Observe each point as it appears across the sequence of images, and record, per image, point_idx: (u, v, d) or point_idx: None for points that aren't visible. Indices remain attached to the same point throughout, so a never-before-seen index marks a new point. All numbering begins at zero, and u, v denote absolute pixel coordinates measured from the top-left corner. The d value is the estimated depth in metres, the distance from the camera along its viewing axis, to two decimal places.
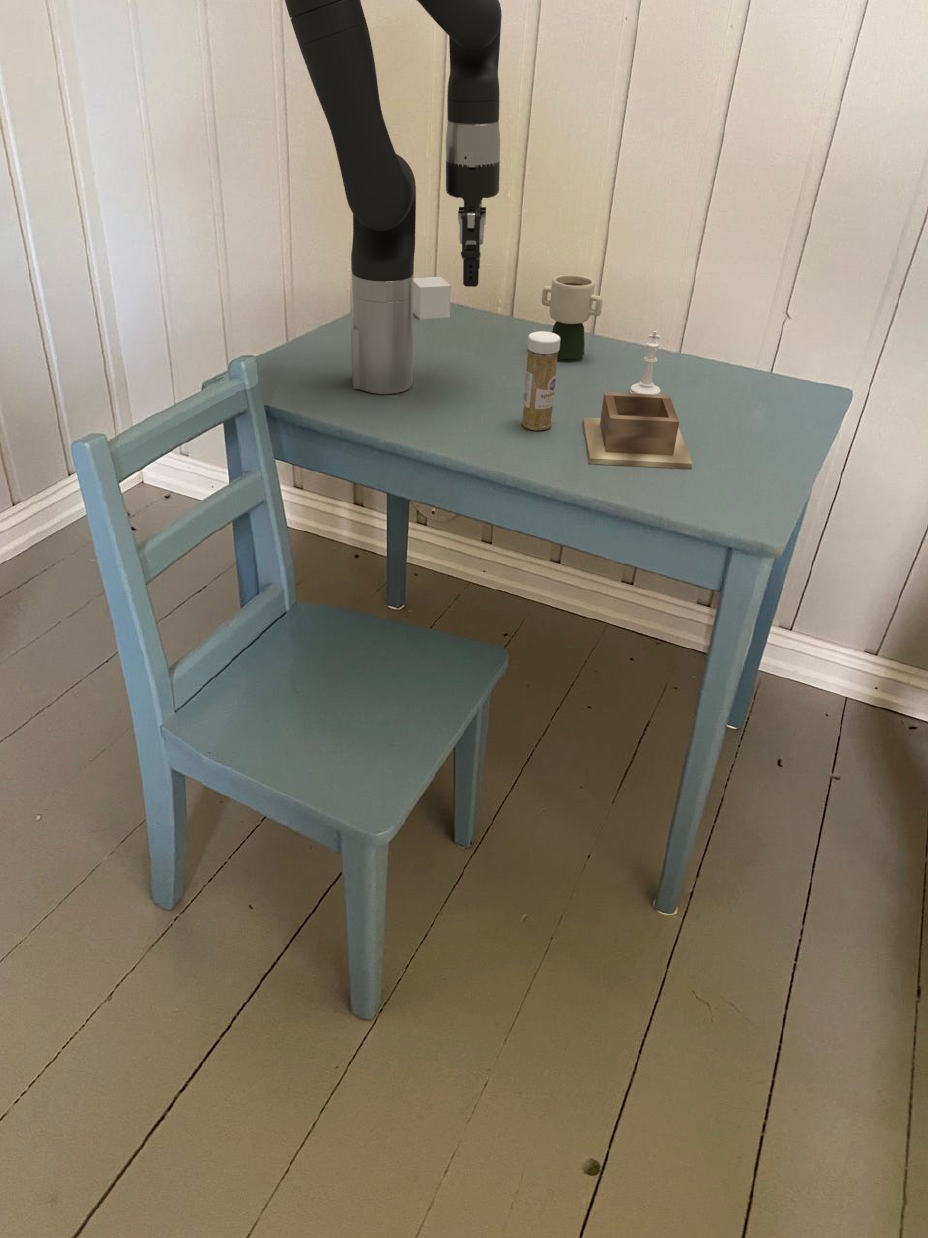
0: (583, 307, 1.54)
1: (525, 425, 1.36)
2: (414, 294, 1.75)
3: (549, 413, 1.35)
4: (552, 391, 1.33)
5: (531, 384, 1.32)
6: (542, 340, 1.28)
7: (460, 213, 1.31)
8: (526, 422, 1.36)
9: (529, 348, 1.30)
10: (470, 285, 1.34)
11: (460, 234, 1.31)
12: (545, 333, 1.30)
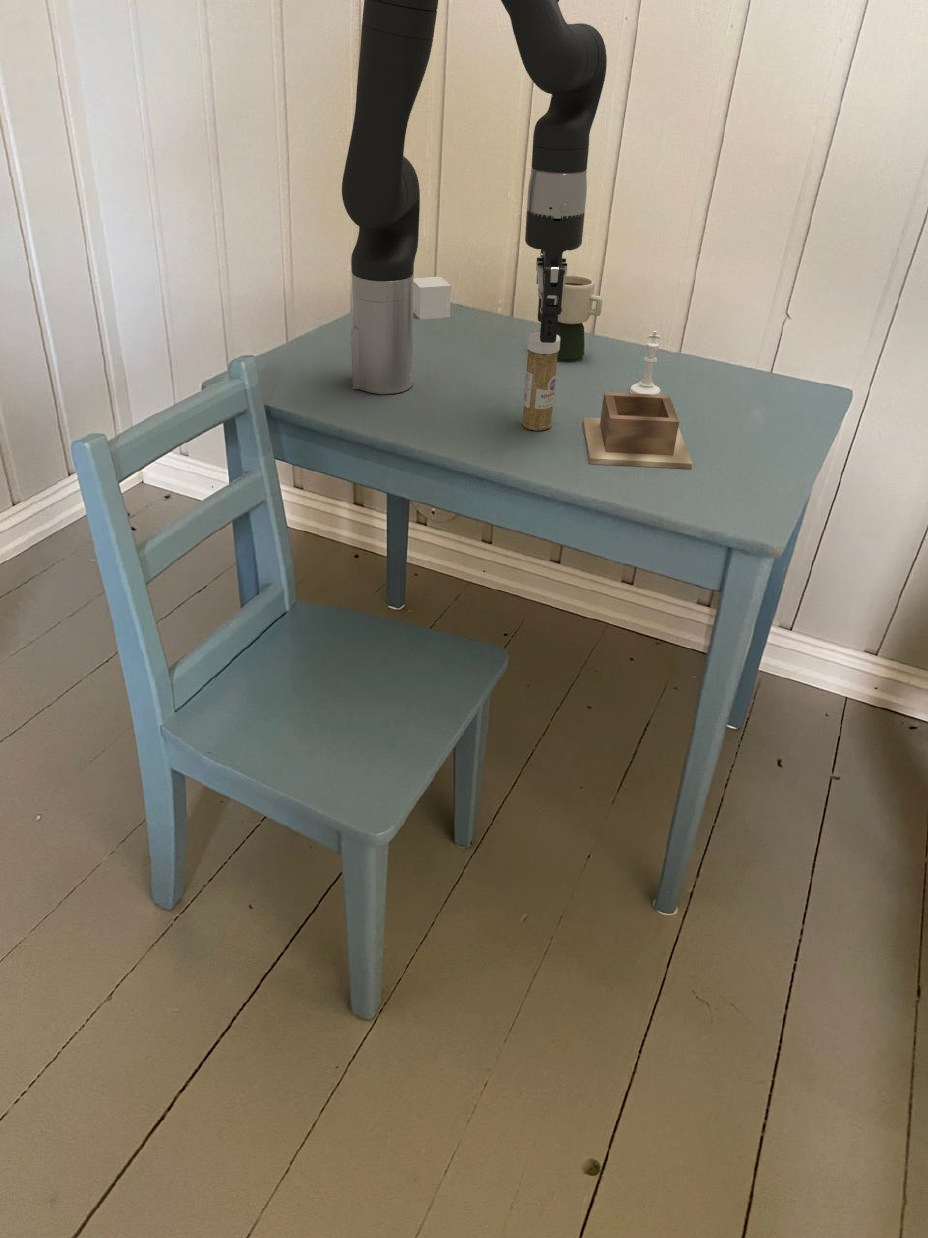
0: (583, 307, 1.54)
1: (525, 425, 1.36)
2: (414, 294, 1.75)
3: (549, 413, 1.35)
4: (552, 391, 1.33)
5: (531, 384, 1.32)
6: None
7: (540, 265, 1.22)
8: (526, 422, 1.36)
9: (529, 348, 1.30)
10: (547, 341, 1.25)
11: (539, 288, 1.22)
12: None
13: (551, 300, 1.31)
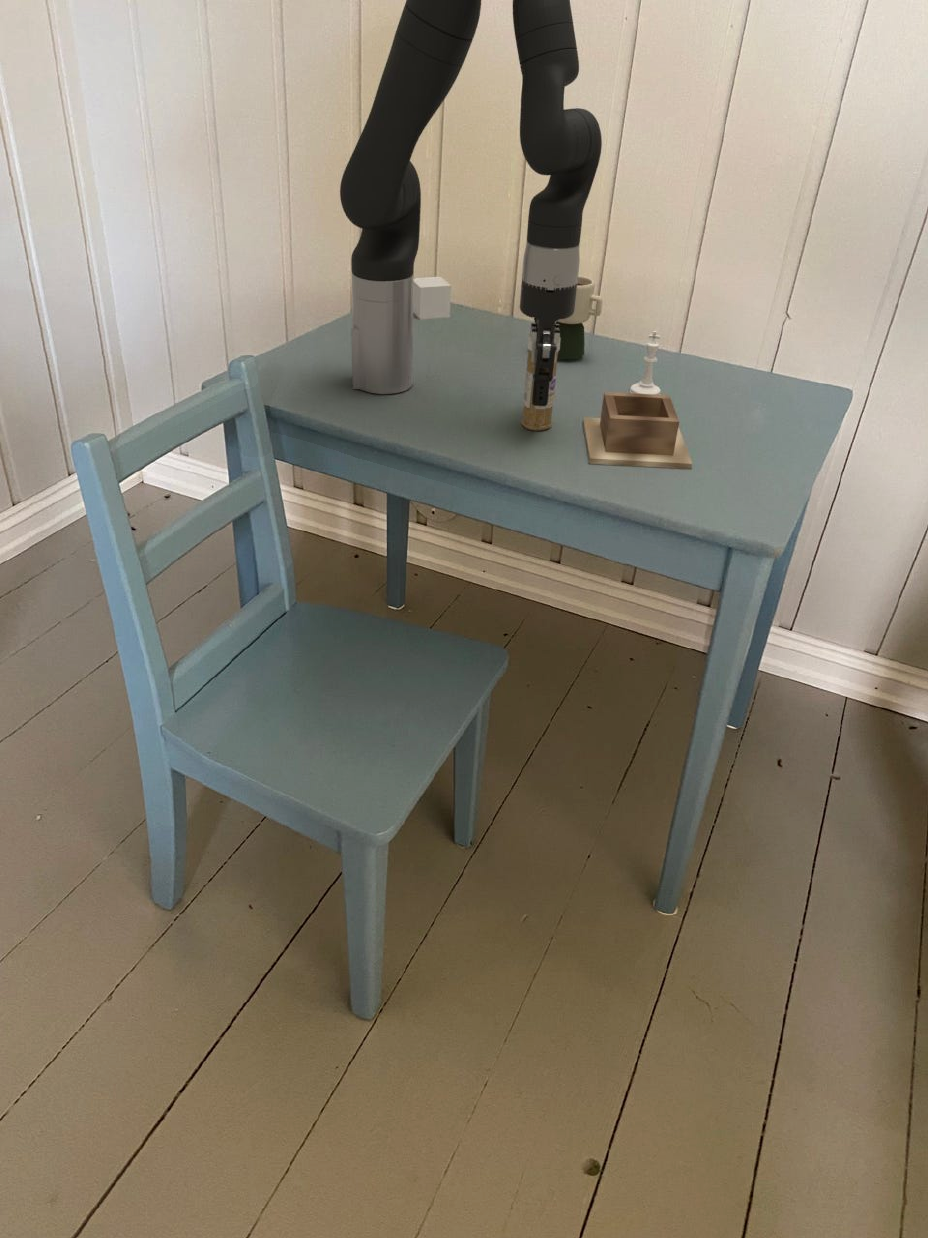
0: (583, 307, 1.54)
1: (525, 425, 1.36)
2: (414, 294, 1.75)
3: (549, 413, 1.35)
4: (552, 391, 1.33)
5: (531, 384, 1.32)
6: None
7: (533, 333, 1.27)
8: (526, 422, 1.36)
9: (529, 348, 1.30)
10: (539, 404, 1.32)
11: (532, 356, 1.28)
12: None
13: None
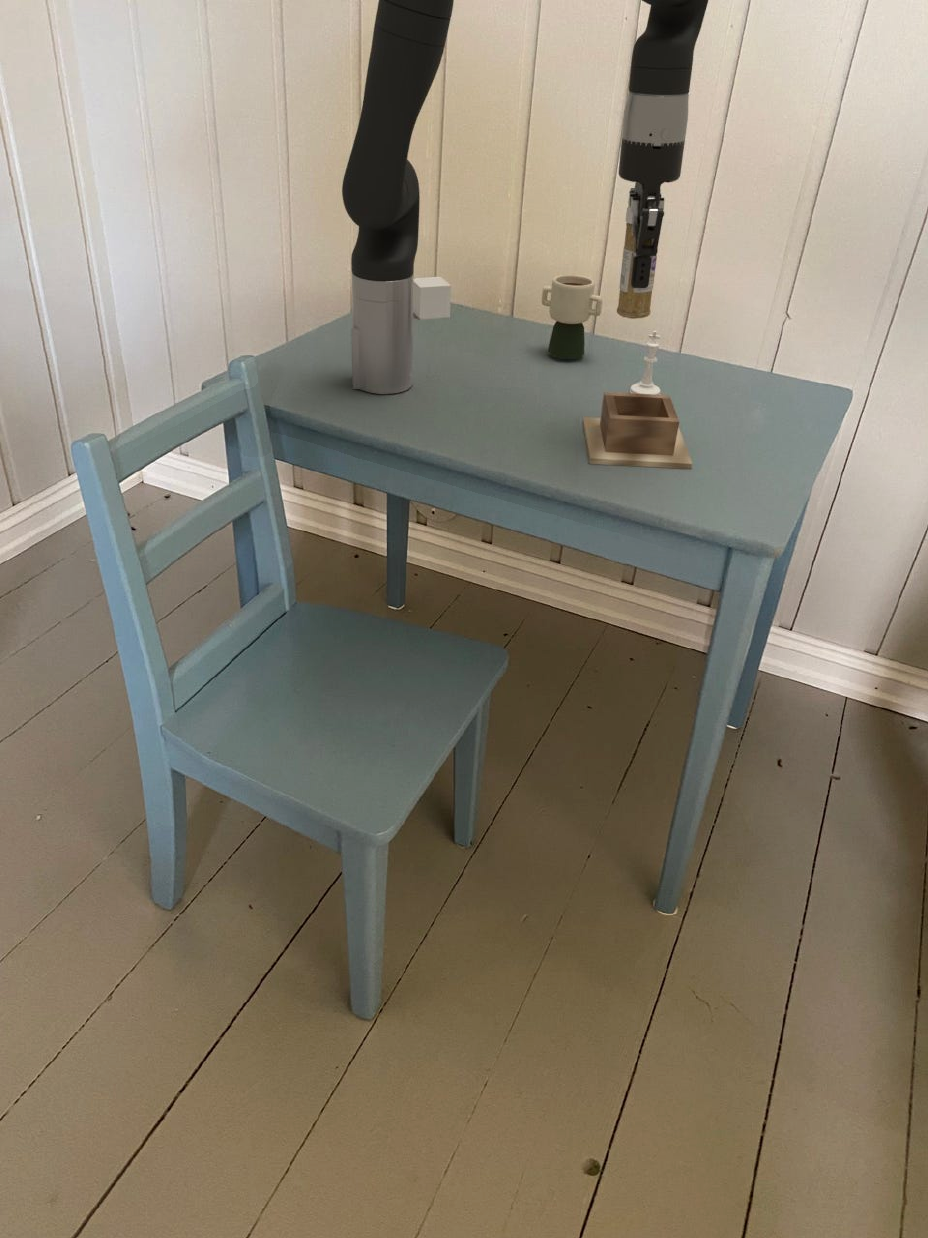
0: (583, 307, 1.54)
1: (622, 313, 1.22)
2: (414, 294, 1.75)
3: (649, 298, 1.21)
4: (653, 271, 1.19)
5: (630, 263, 1.18)
6: None
7: (635, 202, 1.14)
8: (623, 309, 1.22)
9: (629, 221, 1.16)
10: (639, 286, 1.19)
11: (633, 228, 1.15)
12: None
13: None
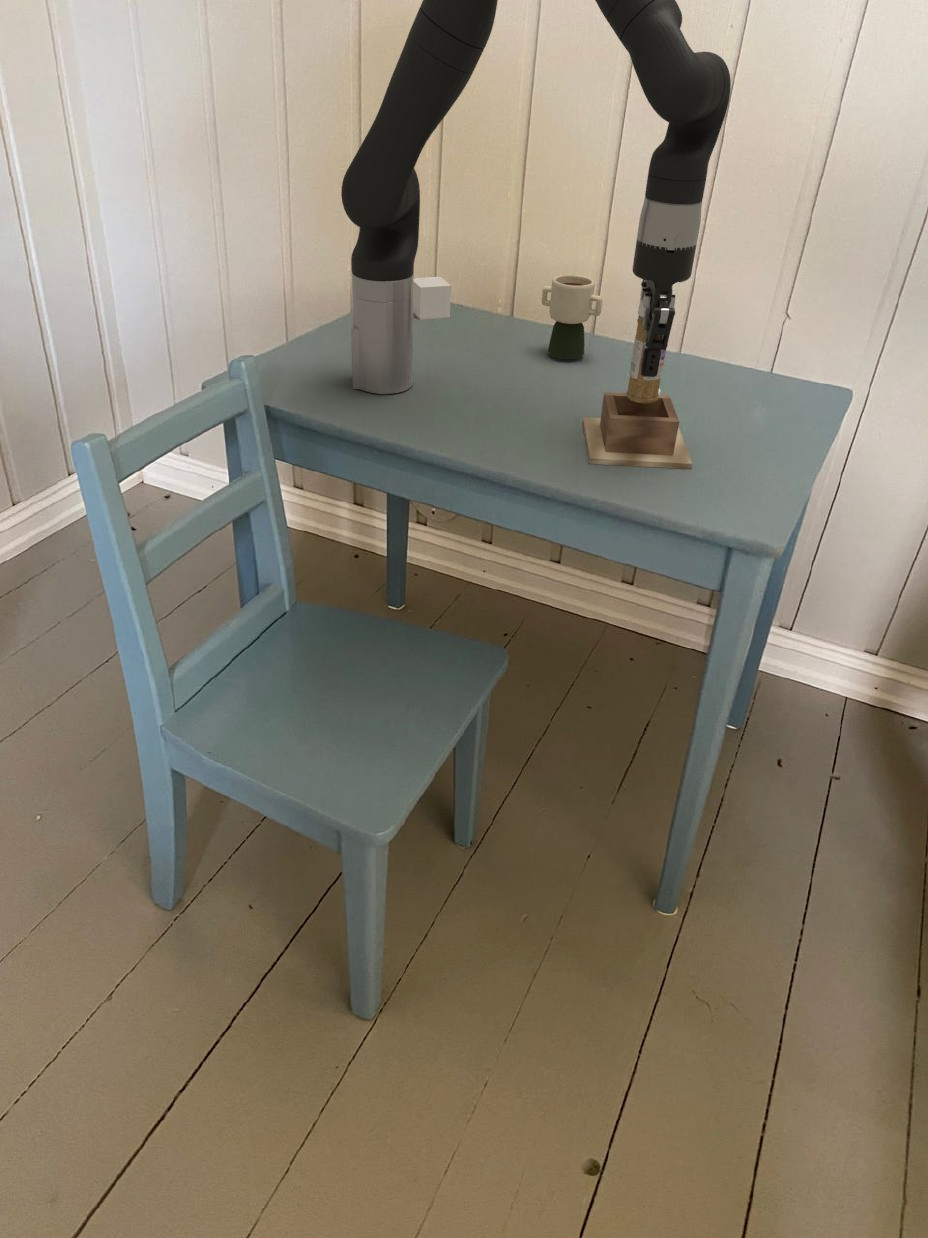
0: (583, 307, 1.54)
1: (631, 398, 1.28)
2: (414, 294, 1.75)
3: (657, 385, 1.27)
4: (662, 361, 1.25)
5: (640, 353, 1.24)
6: None
7: (647, 298, 1.19)
8: (632, 394, 1.27)
9: (641, 314, 1.21)
10: (648, 375, 1.24)
11: (645, 323, 1.20)
12: None
13: None
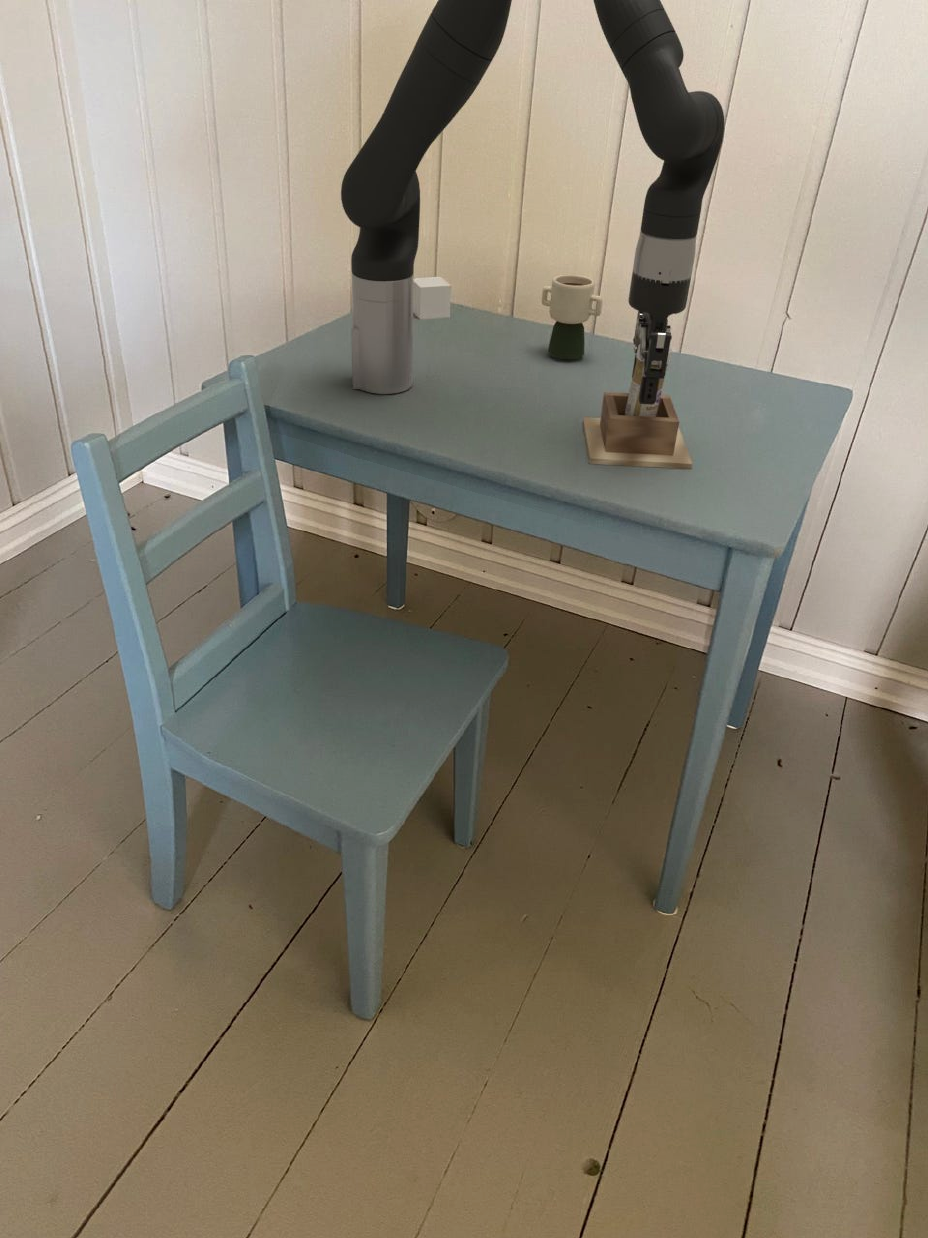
0: (583, 307, 1.54)
1: None
2: (414, 294, 1.75)
3: None
4: (657, 404, 1.28)
5: (637, 395, 1.27)
6: None
7: (643, 327, 1.22)
8: None
9: (639, 358, 1.25)
10: (646, 403, 1.25)
11: (642, 350, 1.22)
12: None
13: None
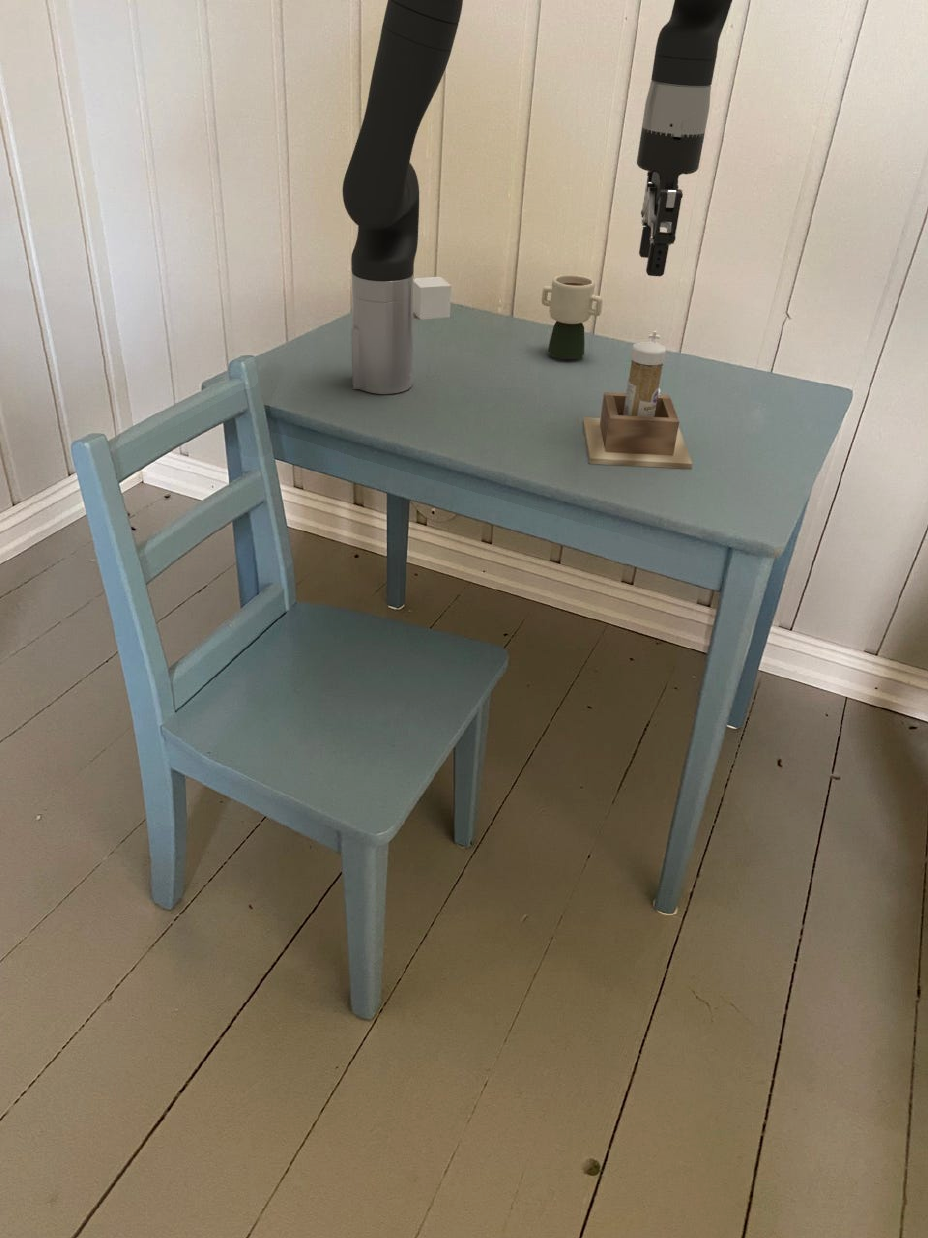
0: (583, 307, 1.54)
1: None
2: (414, 294, 1.75)
3: None
4: (655, 404, 1.28)
5: (633, 396, 1.27)
6: (649, 350, 1.24)
7: (652, 190, 1.14)
8: None
9: (634, 359, 1.25)
10: (654, 274, 1.17)
11: (651, 215, 1.13)
12: (650, 344, 1.26)
13: None
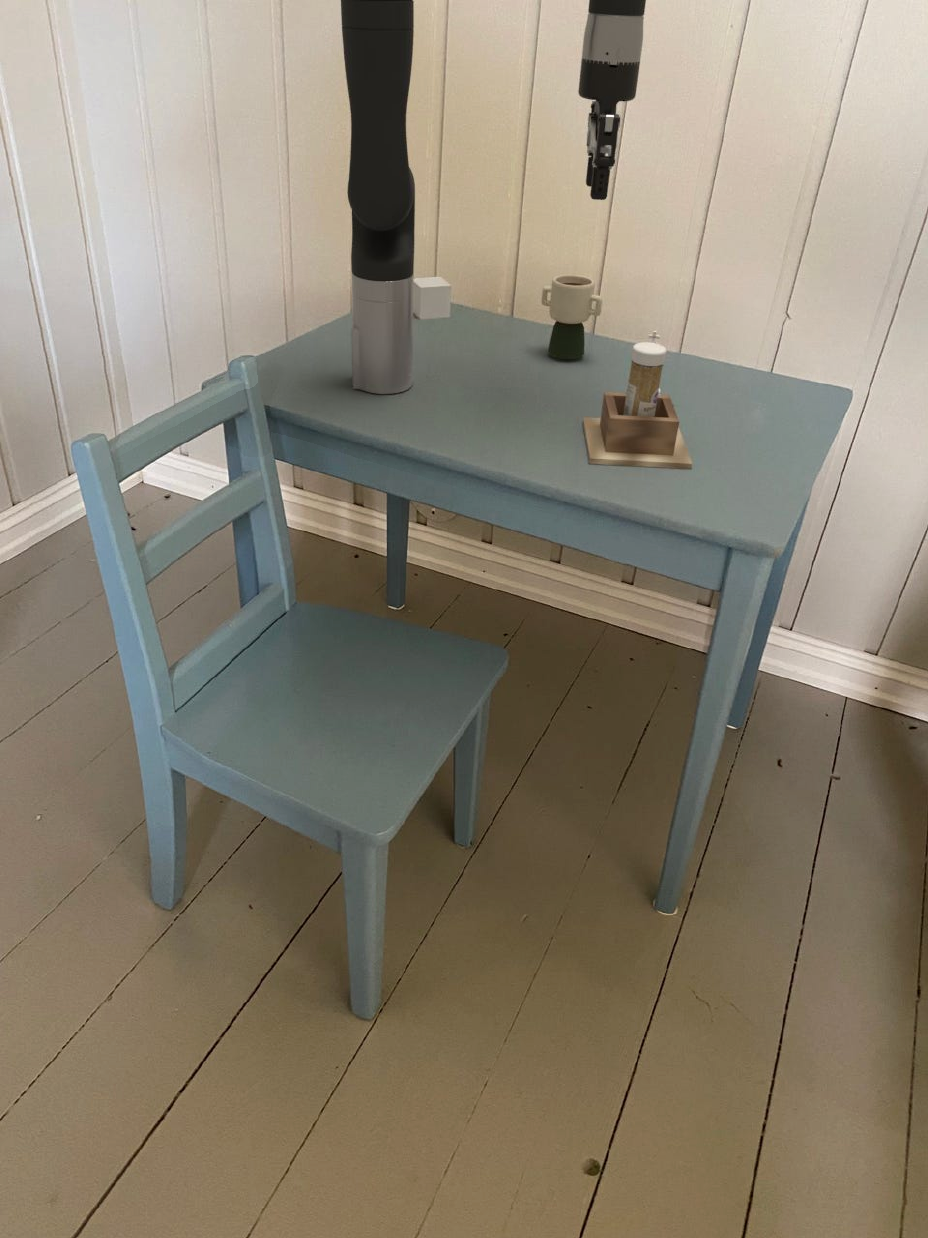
0: (583, 306, 1.54)
1: None
2: (414, 294, 1.75)
3: None
4: (655, 404, 1.28)
5: (634, 397, 1.27)
6: (649, 351, 1.23)
7: (593, 118, 1.22)
8: None
9: (634, 360, 1.25)
10: (598, 198, 1.25)
11: (592, 140, 1.22)
12: (650, 344, 1.26)
13: None
